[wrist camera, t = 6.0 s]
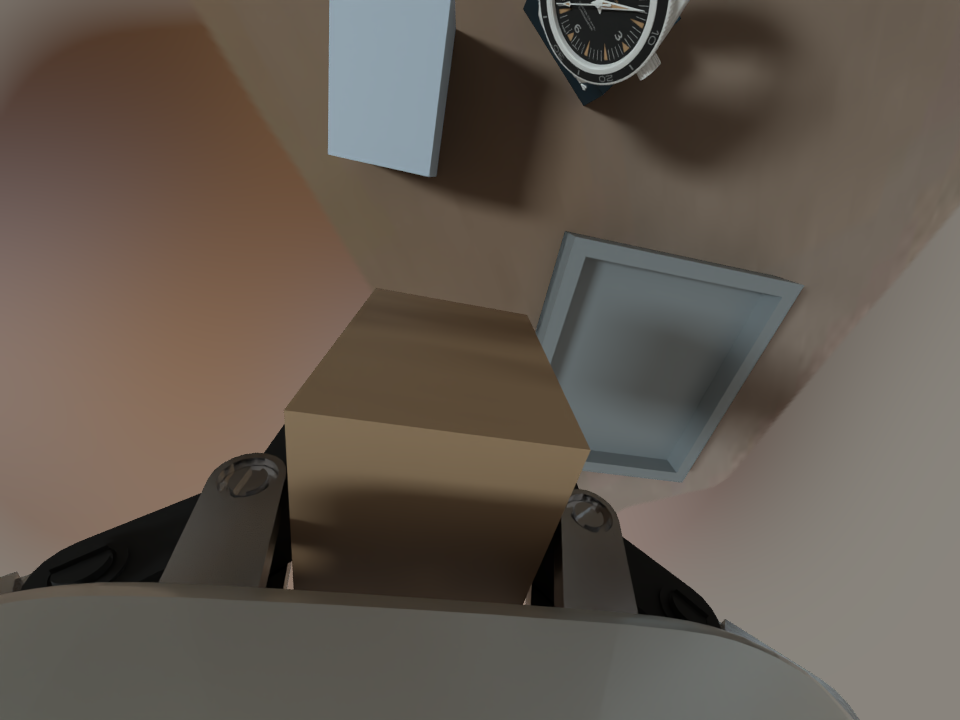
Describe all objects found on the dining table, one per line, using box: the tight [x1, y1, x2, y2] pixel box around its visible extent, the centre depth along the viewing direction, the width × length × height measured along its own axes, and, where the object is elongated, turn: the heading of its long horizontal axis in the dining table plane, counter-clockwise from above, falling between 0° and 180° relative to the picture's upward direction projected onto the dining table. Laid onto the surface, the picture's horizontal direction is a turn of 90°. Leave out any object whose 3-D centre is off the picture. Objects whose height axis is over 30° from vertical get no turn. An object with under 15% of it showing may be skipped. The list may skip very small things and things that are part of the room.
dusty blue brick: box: [328, 0, 456, 177], centre depth 17 cm, size 7×4×6 cm, turn 169°
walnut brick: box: [284, 288, 591, 605], centre depth 9 cm, size 7×4×6 cm, turn 169°
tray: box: [535, 231, 804, 482], centre depth 28 cm, size 18×16×2 cm
